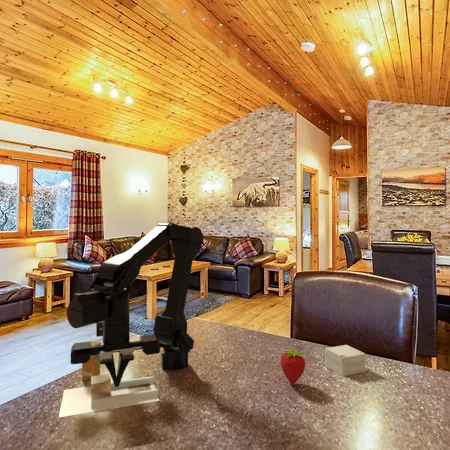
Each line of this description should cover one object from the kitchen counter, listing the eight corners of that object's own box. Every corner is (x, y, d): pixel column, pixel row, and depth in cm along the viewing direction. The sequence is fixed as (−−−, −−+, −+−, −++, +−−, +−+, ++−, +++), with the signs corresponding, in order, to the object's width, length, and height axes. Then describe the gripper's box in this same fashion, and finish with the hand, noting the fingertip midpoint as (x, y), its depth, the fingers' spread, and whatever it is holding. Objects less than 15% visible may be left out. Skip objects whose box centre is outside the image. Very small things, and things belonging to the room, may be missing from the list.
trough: (151, 383, 88) (151, 372, 88) (159, 407, 77) (159, 395, 77) (64, 396, 82) (64, 384, 82) (58, 425, 70) (58, 411, 70)
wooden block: (109, 390, 81) (109, 373, 81) (110, 399, 77) (110, 381, 77) (91, 393, 80) (91, 376, 80) (91, 402, 76) (91, 384, 76)
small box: (346, 361, 103) (346, 344, 103) (366, 372, 95) (366, 353, 95) (324, 365, 100) (324, 347, 100) (342, 377, 92) (342, 357, 92)
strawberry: (298, 376, 92) (299, 338, 92) (309, 390, 85) (309, 349, 85) (276, 378, 91) (277, 339, 91) (285, 392, 84) (286, 350, 84)
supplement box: (93, 386, 86) (93, 346, 86) (81, 385, 87) (81, 345, 87) (101, 380, 90) (101, 341, 89) (89, 379, 90) (89, 340, 90)
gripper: (152, 305, 90) (153, 366, 90) (73, 312, 84) (73, 377, 84) (160, 316, 80) (160, 385, 80) (70, 325, 73) (70, 399, 74)
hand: (116, 386), depth 80 cm, fingers closed
